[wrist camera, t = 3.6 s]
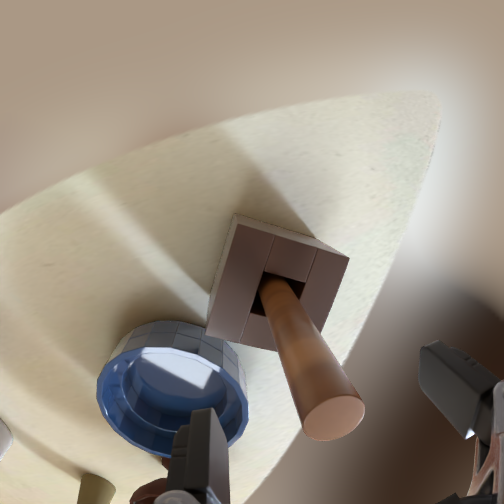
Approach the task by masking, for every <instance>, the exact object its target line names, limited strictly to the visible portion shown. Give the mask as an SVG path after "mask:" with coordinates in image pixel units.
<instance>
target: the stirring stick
mask: <svg viewBox="0 0 504 504" xmlns="http://www.w3.org/2000/svg"><path fill="white" fill-rule="evenodd" d="M258 292H259V295H260V298H261V301H262V305H263V308H264V311H265V314H266V317H267V320H268V323H269V326H270V329H271V333H272V336H273V339H274V342H275V345H276V348H277V351H278V354H279V357H280V361H281V364H282V367H283V370H284V373H285V376H286V379H287V382H288V385H289V388H290V391H291V394H292V398H293V401H294V404H295V407H296V410H297V413H298V416H299V419H300V422H301V425H302V428H303V431H304V433H305V434H306V435H307V436H308V437H310V438H311V439H314V440H318V441H328V440H334V439H337V438H340V437H342V436H344V435H346V434H348V433H349V432H351V431H352V430H353V429H354V428H355V427H356V426H357V425H358V424H359V423H360V421H361V420H362V418H363V416H364V412H365V406H364V403H363V401H362V399H361V398H360V396H359V394H358V393H357V391H356V390H355V388H354V387H353V385H352V383H351V382H350V380H349V379H348V377H347V375H346V374H345V372H344V371H343V369H342V367H341V366H340V364H339V363H338V361H337V359H336V358H335V356H334V355H333V353H332V352H331V350H330V348H329V347H328V345H327V344H326V342H325V341H324V339H323V337H322V336H321V334H320V333H319V331H318V330H317V328H316V326H315V325H314V323H313V322H312V320H311V319H310V317H309V315H308V314H307V312H306V311H305V309H304V308H303V306H302V305H301V303H300V301H299V300H298V298H297V297H296V295H295V294H294V292H293V291H292V289H291V288H290V286H289V284H288V283H287V281H286V280H285V278H284V277H283V276H279V275H276V274H272V273H268V272H265V271H264V270H263V274H262V277H261V280H260V283H259V286H258Z"/></svg>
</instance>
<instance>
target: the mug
mask: <svg viewBox="0 0 504 504" xmlns="http://www.w3.org/2000/svg"><path fill="white" fill-rule="evenodd" d="M12 443H13V437H12V434H11V432H10V430H9V429H8V427H7V426H6V425H5V424H4V422H3V421H2V420H1V419H0V461H1V459H2V458H3V456H4V455H5V453H6V452H7V450H8V449H9V448H10V446H11V445H12Z"/></svg>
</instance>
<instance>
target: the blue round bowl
mask: <svg viewBox="0 0 504 504" xmlns="http://www.w3.org/2000/svg"><path fill="white" fill-rule="evenodd" d="M96 397H97V401H98V404H99V407H100V409H101V412H102V415H103V416H104V418H105V419H106V420H107V422H108V423H109V424H110V426H111V427H112V428H113V430H114V431H115V432H117V433H118V434H119V435H120V436H121V437H123V438H124V439H125V440H126V441H128V442H129V443H130V444H132V445H134V446H136V447H138V448H140V449H142V450H144V451H146V452H148V453H151V454H155V455H159V456H163V457H167V458H171V451H172V449H173V448H172V445H173V439H174V435H175V434H176V432H177V431H178V429H179V428H180V426H181V425H189V424H190V420H191V412H192V411H193V410H199V409H206V408H213V409H214V410H215V413H216V415H217V417H218V420H219V422H220V425H221V427H222V429H223V432H224V434H225V437H226V440H227V445H228V448H229V447H230V446H231V445H232V444H233V443H235V442H236V441H237V440H238V439H239V438H240V437H241V436H242V434H243V432H244V430H245V427H246V425H247V423H248V421H249V408H248V396H247V388H246V380H245V372H244V369H243V367H242V365H241V362H240V360H239V358H238V356H237V354H236V353H235V352H234V351H233V350H232V349H231V348H230V346H229V345H228V344H227V343H226V342H225V341H224V340H223V339H219V338H215V337H211V336H207V335H205V328H202V327H200V326H196V325H193V324H189V323H186V322H182V321H154V322H151V323H148V324H145V325H141V326H138V327H136V328H134V329H133V330H132V331H131V332H129V333H128V334H127V335H125V336H124V337H123V338H122V339H121V340H120V342H119V343H118V345H117V347H116V348H115V350H114V351H113V353H112V355H111V356H110V358H109V360H108V361H107V363H106V364H105V366H104V368H103V370H102V372H101V374H100V376H99V378H98V379H97V396H96Z"/></svg>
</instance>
